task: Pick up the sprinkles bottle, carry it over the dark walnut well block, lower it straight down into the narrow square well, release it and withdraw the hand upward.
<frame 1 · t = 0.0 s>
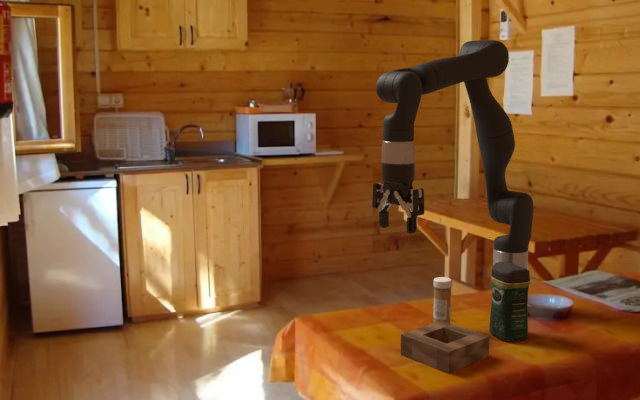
hand: (397, 230, 168), 29 cm above the table, tool pointing down, fingers open, 8 cm apart
well block: (444, 355, 170), on the table
coffee jar: (508, 336, 182), on the table
sprinkles bottle: (441, 330, 187), on the table
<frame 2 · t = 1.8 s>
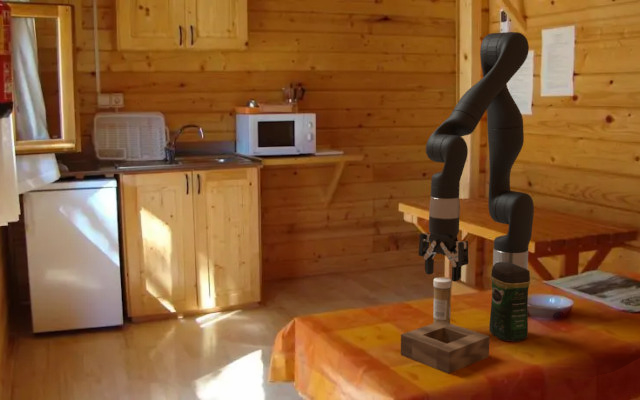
hand: (442, 277, 184), 14 cm above the table, tool pointing down, fingers open, 8 cm apart
nothing on the table moved.
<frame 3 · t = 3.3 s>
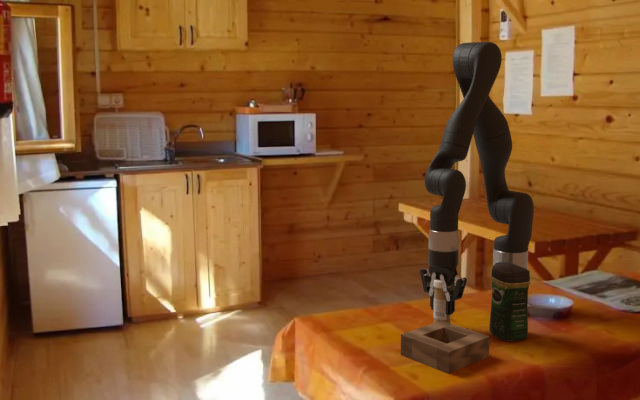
hand: (442, 311, 186), 5 cm above the table, tool pointing down, fingers closed on sprinkles bottle, 4 cm apart
sprinkles bottle: (441, 330, 187), on the table, touching gripper
everything else where it was.
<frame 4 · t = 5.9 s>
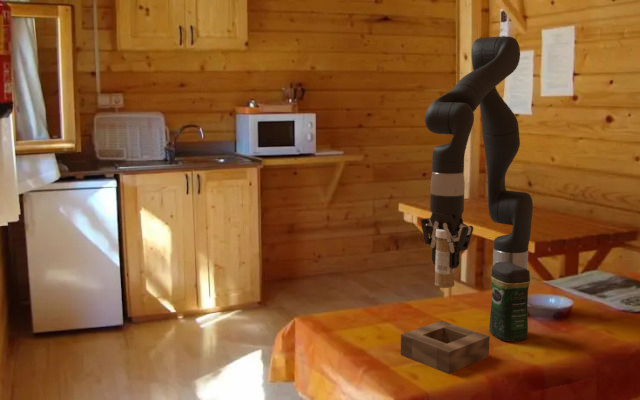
hand: (445, 265, 166), 22 cm above the table, tool pointing down, fingers closed on sprinkles bottle, 4 cm apart
sprinkles bottle: (444, 286, 167), point 17 cm above the table, touching gripper
everything else where it was.
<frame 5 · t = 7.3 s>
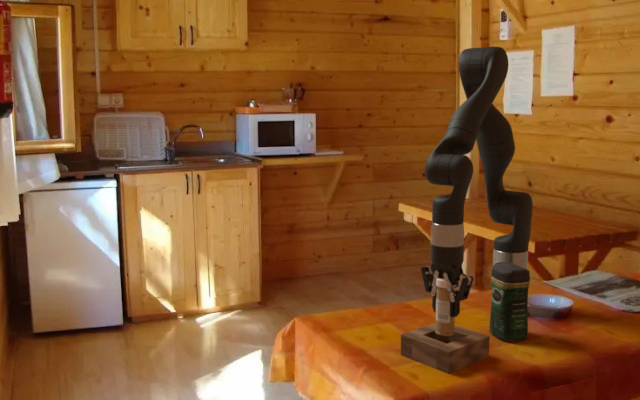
hand: (445, 313, 168), 10 cm above the table, tool pointing down, fingers closed on sprinkles bottle, 4 cm apart
sprinkles bottle: (444, 334, 169), point 5 cm above the table, touching gripper
everything else where it was.
when the fingers open (6 cm above the table, at t = 8.5 s): sprinkles bottle drops 1 cm, resting in well block.
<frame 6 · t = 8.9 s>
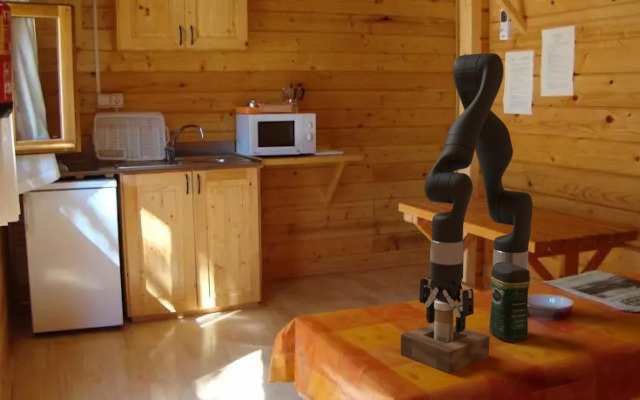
hand: (445, 326, 168), 7 cm above the table, tool pointing down, fingers open, 8 cm apart
sprinkles bottle: (443, 355, 170), resting in well block
everything else where it was.
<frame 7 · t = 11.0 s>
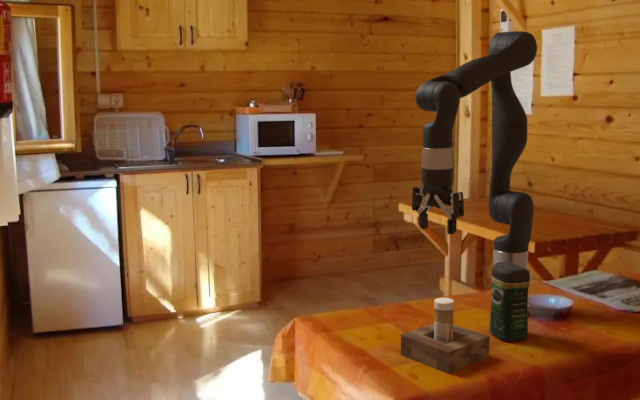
hand: (437, 231, 178), 27 cm above the table, tool pointing down, fingers open, 8 cm apart
nothing on the table moved.
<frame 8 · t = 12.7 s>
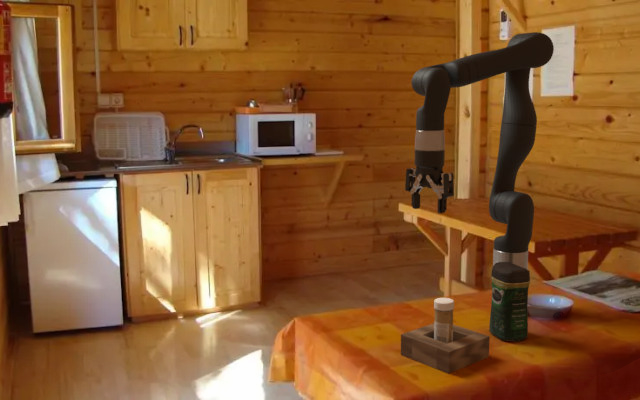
hand: (428, 210, 187), 30 cm above the table, tool pointing down, fingers open, 8 cm apart
nothing on the table moved.
at the end: sprinkles bottle 0.5 cm off-centre on the well block, point 0.0 cm above the well block's base; sprinkles bottle tilted 0°; the gripper is holding nothing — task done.
